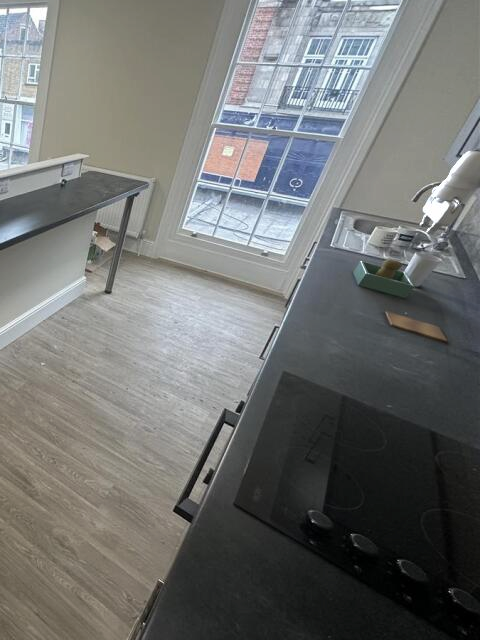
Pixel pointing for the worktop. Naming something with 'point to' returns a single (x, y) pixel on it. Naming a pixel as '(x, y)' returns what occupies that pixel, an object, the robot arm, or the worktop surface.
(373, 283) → the basin
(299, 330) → the worktop surface
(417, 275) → the cup
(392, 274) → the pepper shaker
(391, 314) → the mat
